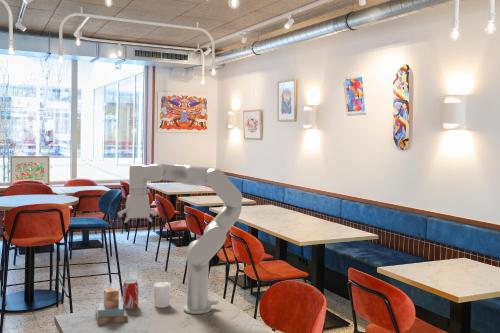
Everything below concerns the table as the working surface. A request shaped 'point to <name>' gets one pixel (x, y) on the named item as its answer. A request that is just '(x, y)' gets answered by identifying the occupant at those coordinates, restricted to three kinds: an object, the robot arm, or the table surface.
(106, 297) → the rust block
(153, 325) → the table surface
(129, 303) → the soda can
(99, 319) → the base block
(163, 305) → the white cup
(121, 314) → the top block
